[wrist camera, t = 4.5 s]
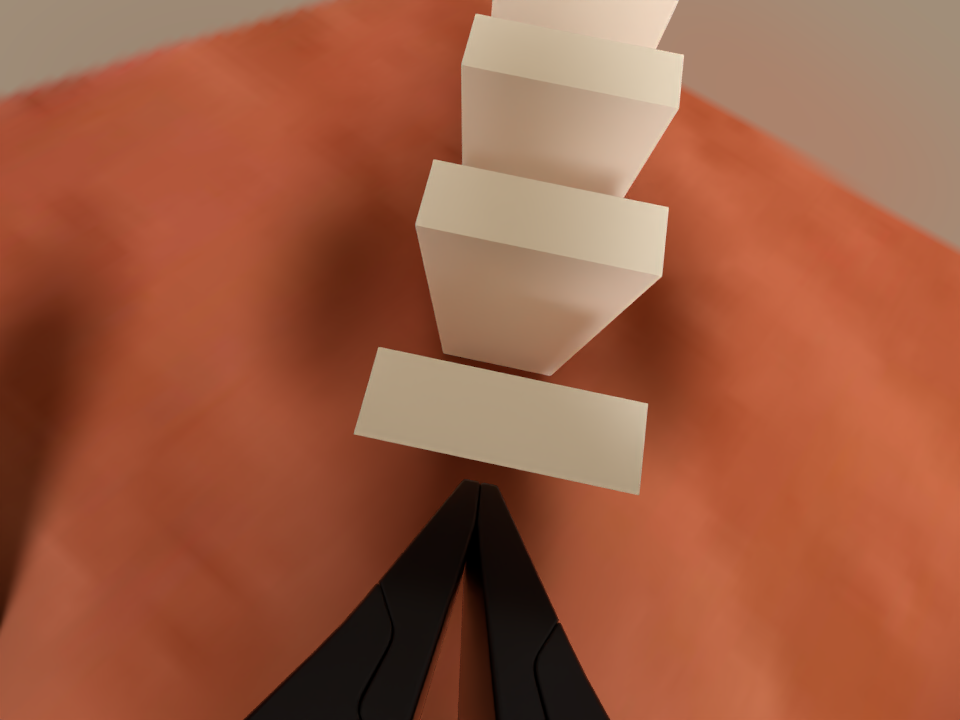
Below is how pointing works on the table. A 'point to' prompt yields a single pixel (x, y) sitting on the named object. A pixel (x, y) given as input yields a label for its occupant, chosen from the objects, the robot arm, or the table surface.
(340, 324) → the table surface
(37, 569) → the table surface
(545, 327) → the domino
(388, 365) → the domino
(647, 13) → the domino
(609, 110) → the domino
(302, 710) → the robot arm
